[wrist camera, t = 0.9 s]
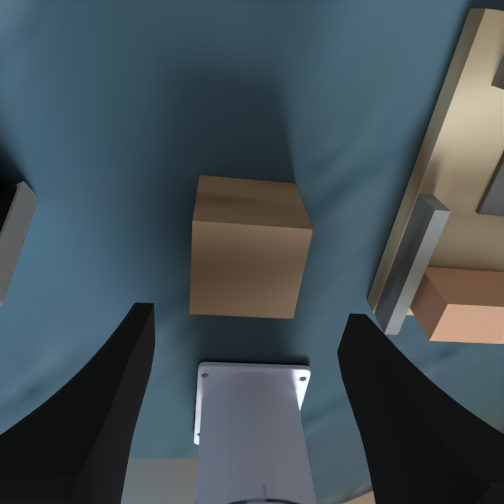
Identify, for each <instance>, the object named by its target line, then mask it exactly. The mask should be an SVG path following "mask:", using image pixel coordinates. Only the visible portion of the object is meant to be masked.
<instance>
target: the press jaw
mask: <svg viewBox="0 0 504 504" xmlns="http://www.w3.org/2000/svg"><path fill="white" fill-rule="evenodd" d="M410 309H411V311H412V312H413V314H414V316H415V317H416V319H417V321H418V322H419V324H420V326H421V327H422V329H423V331H424V332H425V334H426V336H427V337H428V339H429V341H450V342H472V343H494V344H504V272H495V271H479V270H464V269H449V268H434V267H427V268H426V270H425V272H424V275H423V277H422V279H421V282H420V284H419V286H418V289H417V291H416V293H415V295H414V298H413V300H412V302H411V305H410Z"/></svg>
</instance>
